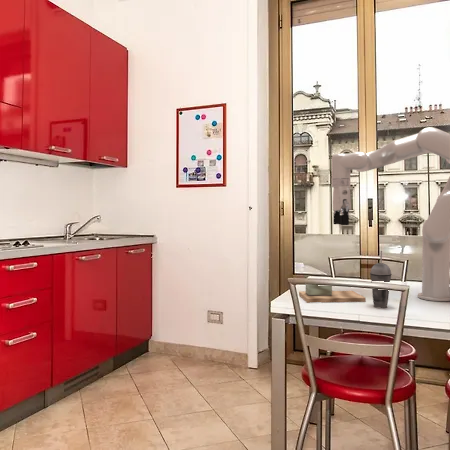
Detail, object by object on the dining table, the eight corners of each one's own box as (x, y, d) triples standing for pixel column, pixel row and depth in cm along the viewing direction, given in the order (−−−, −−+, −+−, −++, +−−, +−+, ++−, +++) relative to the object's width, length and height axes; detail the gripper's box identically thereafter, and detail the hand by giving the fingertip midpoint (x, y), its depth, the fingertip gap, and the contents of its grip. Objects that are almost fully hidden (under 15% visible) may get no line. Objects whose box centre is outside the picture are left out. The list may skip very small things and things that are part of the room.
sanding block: (328, 293, 166) (328, 278, 166) (331, 295, 161) (331, 280, 161) (305, 293, 166) (305, 278, 166) (308, 296, 161) (308, 280, 161)
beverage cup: (389, 304, 152) (390, 249, 151) (393, 309, 145) (393, 251, 144) (368, 303, 154) (368, 249, 153) (370, 308, 147) (371, 251, 146)
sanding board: (352, 294, 171) (352, 290, 171) (365, 301, 157) (365, 297, 157) (299, 295, 170) (299, 291, 170) (307, 302, 156) (307, 298, 156)
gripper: (357, 182, 167) (357, 225, 168) (343, 184, 184) (343, 223, 185) (338, 182, 167) (338, 225, 167) (326, 185, 184) (326, 224, 185)
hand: (340, 224), depth 176 cm, fingers open, 9 cm apart
